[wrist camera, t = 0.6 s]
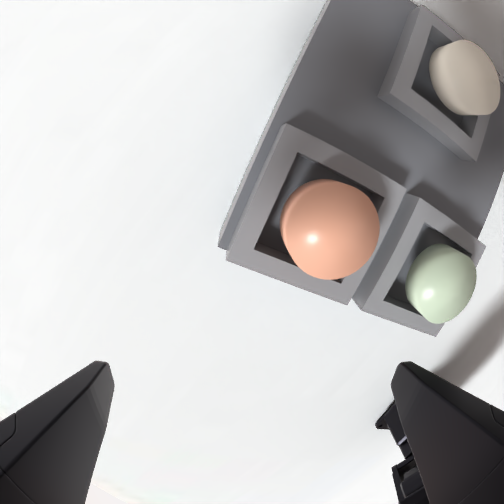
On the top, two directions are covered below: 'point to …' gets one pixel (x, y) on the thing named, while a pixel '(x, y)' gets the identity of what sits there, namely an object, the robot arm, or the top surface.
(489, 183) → the console
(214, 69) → the top surface
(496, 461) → the robot arm
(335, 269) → the terracotta button
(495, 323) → the top surface
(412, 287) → the sage button
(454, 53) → the cream button
